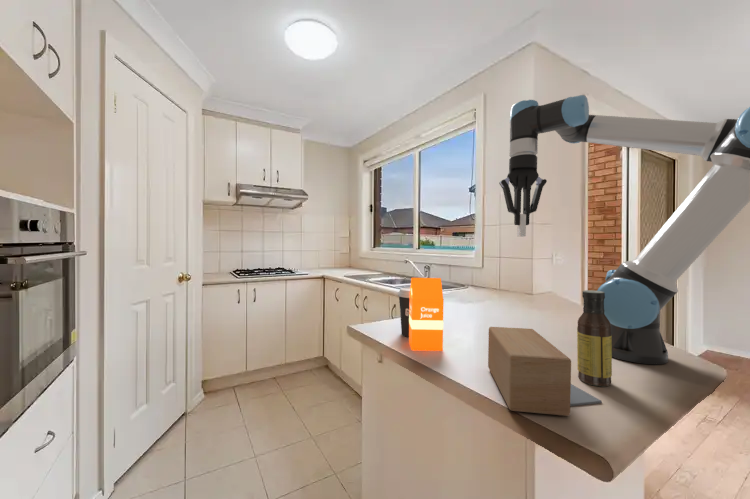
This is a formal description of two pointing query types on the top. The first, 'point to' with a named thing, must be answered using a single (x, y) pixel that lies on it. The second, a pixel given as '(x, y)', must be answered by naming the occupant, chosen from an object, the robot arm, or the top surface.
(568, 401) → the wooden block
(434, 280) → the orange juice
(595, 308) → the sauce bottle
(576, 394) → the mat
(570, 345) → the top surface
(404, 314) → the coffee cup
